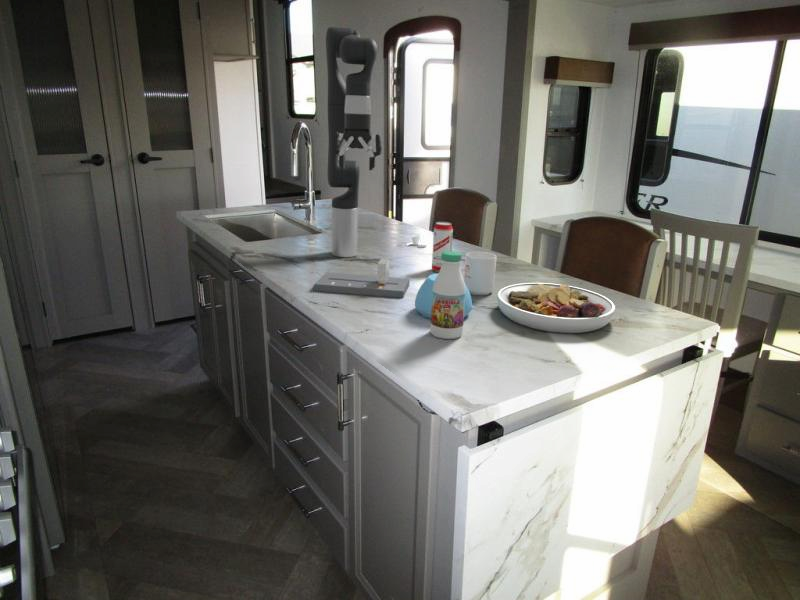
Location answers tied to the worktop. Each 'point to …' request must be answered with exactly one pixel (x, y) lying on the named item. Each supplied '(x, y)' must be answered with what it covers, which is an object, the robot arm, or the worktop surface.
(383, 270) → the fader tab
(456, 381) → the worktop surface
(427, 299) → the sugar bowl
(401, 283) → the slider console
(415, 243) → the teacup and saucer
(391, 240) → the worktop surface
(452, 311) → the milk bottle
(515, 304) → the bowl
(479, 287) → the mug
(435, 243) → the beer can
